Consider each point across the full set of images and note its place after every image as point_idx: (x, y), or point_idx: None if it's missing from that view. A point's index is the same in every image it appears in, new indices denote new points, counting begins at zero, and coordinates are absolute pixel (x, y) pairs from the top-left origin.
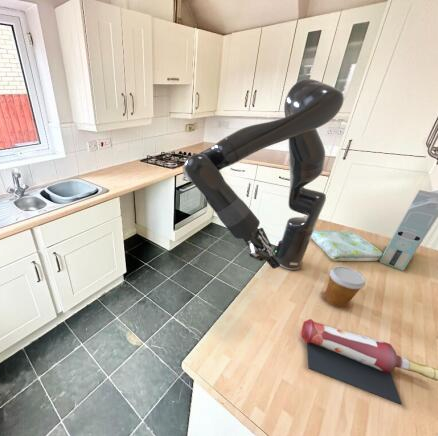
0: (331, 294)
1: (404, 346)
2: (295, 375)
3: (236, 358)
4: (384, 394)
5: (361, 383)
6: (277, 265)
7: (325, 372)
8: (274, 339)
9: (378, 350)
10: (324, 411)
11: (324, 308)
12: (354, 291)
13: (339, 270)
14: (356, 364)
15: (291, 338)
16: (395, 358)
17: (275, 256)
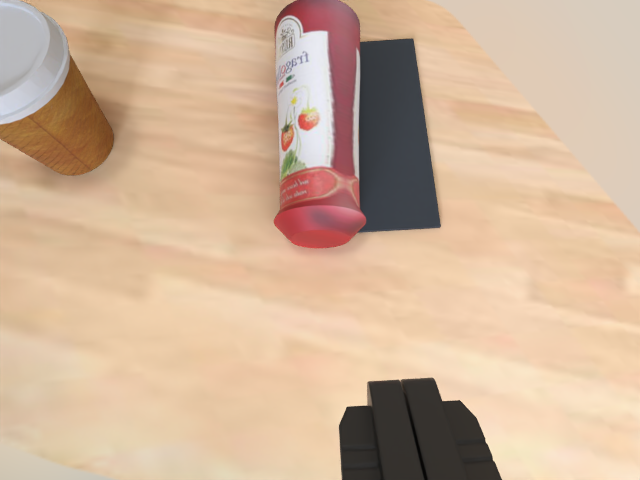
0: (79, 144)
1: (211, 4)
2: (490, 262)
3: (557, 463)
4: (409, 65)
5: (407, 106)
6: (463, 408)
7: (428, 184)
8: (385, 336)
9: (337, 32)
10: (551, 191)
11: (138, 178)
12: (70, 55)
13: None
14: None
15: (346, 280)
16: (340, 1)
17: (386, 464)
